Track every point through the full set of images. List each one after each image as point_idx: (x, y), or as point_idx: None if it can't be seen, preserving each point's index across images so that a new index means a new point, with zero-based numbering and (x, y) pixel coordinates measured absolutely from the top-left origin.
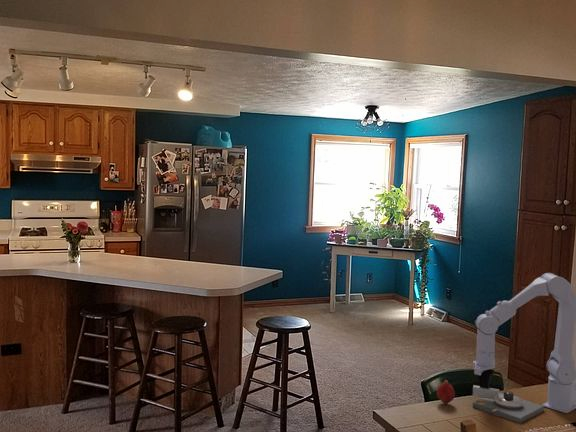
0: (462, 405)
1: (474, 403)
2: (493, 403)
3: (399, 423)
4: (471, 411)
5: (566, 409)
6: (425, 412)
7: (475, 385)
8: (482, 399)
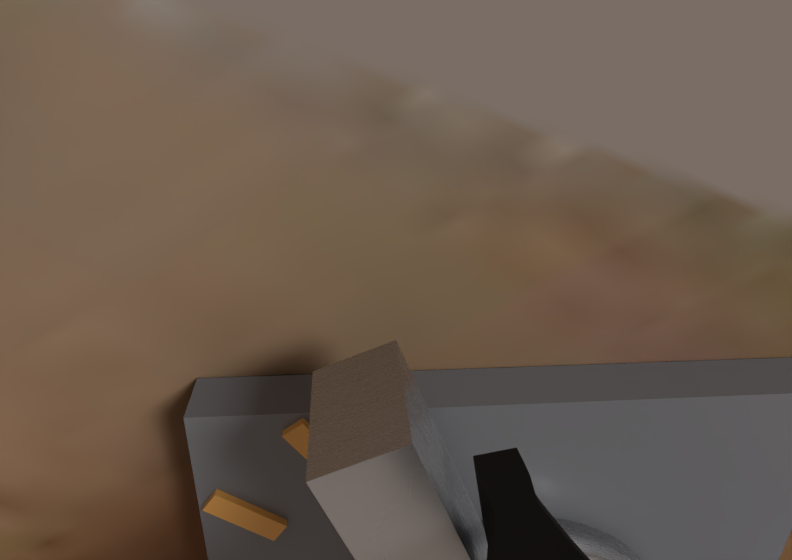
0: (112, 276)
1: (189, 434)
2: None
3: None
4: (58, 439)
5: None
6: None
7: (424, 466)
8: None
